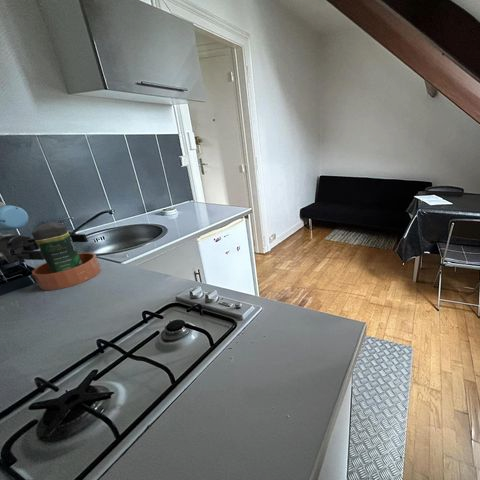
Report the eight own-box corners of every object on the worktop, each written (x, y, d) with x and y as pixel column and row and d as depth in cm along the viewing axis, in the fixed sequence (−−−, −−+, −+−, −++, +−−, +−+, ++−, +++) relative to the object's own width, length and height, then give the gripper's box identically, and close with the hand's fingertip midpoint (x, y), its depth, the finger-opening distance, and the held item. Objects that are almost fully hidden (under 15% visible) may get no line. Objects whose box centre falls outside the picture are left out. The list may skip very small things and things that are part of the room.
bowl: (31, 296, 80) (22, 280, 77) (49, 274, 93) (42, 260, 90) (96, 279, 87) (90, 265, 85) (104, 261, 100) (99, 248, 97)
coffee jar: (86, 275, 88) (62, 224, 81) (54, 284, 84) (26, 231, 76) (86, 266, 95) (64, 217, 88) (57, 274, 90) (31, 223, 83)
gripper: (56, 241, 101) (104, 241, 97) (-32, 274, 78) (26, 275, 75) (47, 223, 98) (96, 222, 94) (-47, 251, 75) (13, 252, 72)
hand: (65, 246), depth 85 cm, fingers open, 13 cm apart
